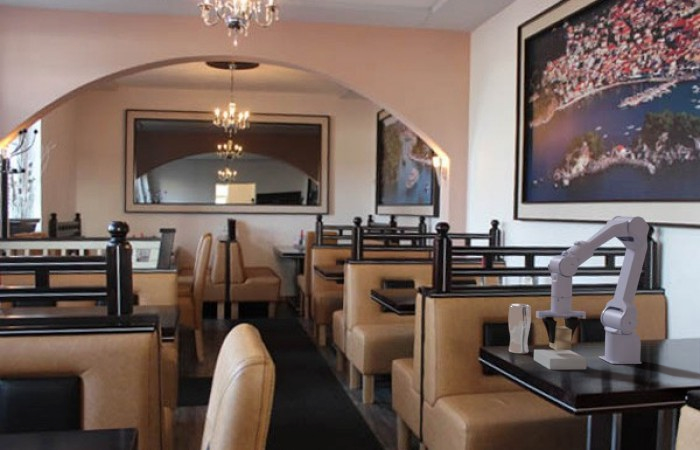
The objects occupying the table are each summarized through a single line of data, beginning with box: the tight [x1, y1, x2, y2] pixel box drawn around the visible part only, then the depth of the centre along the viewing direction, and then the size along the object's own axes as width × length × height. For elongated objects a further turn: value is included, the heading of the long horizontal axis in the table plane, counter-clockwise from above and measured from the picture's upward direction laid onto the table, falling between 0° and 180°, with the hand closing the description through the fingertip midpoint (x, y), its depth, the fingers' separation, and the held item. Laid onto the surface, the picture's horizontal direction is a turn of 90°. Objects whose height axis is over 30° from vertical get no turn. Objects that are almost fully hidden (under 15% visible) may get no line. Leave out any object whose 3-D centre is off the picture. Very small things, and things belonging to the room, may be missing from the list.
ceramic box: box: [533, 349, 588, 370], centre depth 179 cm, size 11×11×4 cm
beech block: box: [549, 325, 572, 351], centre depth 179 cm, size 4×4×6 cm
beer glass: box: [507, 302, 532, 355], centre depth 194 cm, size 7×7×15 cm
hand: (560, 342), depth 179 cm, fingers closed on beech block, 4 cm apart
